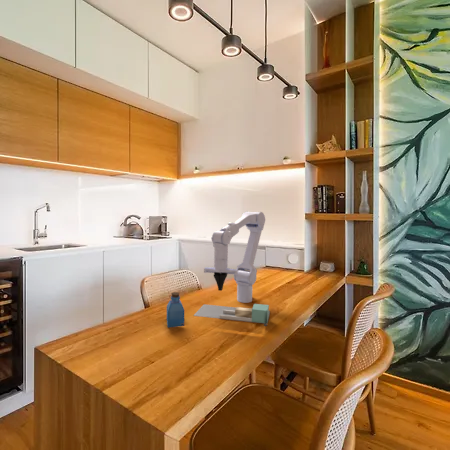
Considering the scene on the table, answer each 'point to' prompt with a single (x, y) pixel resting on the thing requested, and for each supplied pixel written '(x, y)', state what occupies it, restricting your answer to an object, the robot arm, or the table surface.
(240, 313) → the slat
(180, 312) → the perfume bottle
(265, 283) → the table surface
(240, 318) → the board
